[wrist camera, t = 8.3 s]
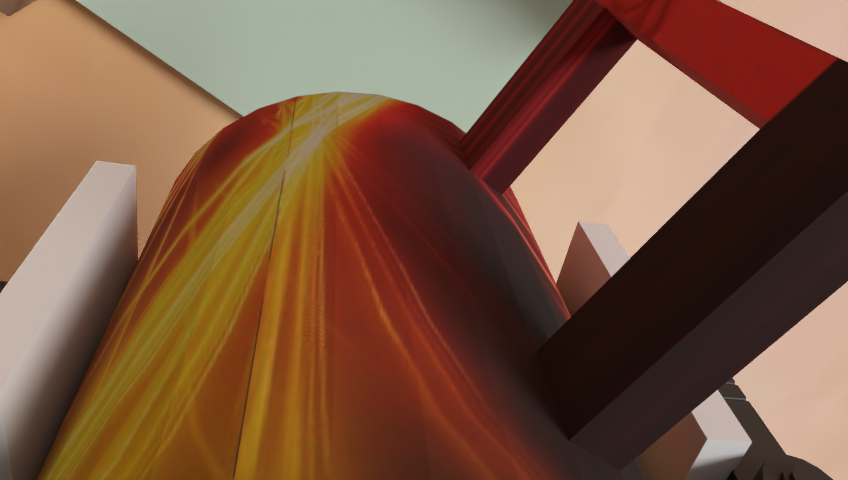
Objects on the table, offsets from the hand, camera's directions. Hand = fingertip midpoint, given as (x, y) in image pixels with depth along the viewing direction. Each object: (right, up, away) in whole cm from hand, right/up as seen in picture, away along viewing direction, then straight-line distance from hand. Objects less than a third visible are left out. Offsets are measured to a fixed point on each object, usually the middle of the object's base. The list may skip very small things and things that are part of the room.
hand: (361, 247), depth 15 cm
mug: (0, +1, +2) cm, 2 cm away
